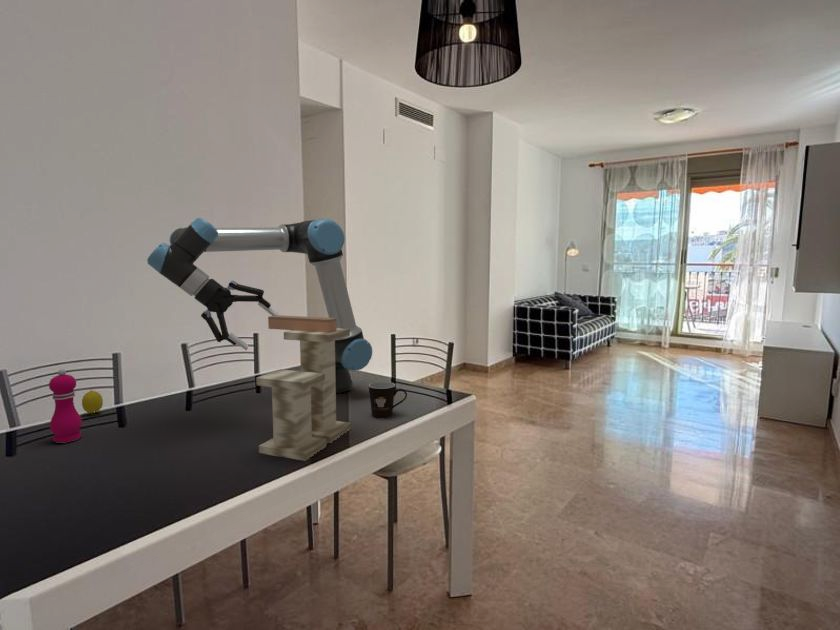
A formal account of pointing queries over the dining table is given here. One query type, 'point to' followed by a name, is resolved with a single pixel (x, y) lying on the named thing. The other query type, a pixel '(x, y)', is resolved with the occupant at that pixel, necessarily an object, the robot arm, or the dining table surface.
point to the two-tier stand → (305, 398)
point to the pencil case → (302, 323)
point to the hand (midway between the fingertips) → (262, 332)
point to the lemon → (92, 402)
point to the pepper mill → (64, 408)
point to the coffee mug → (383, 398)
